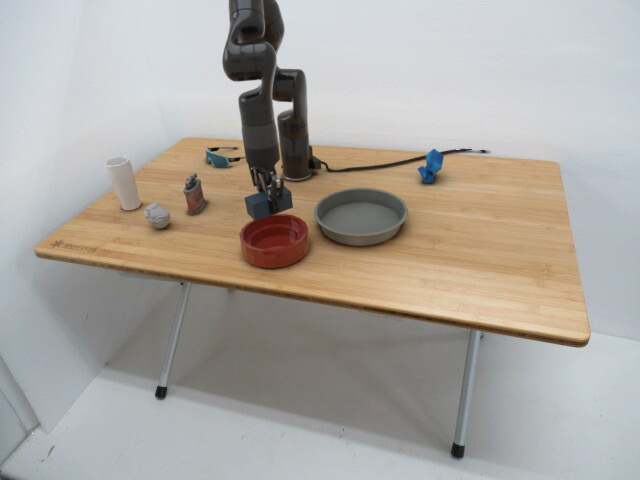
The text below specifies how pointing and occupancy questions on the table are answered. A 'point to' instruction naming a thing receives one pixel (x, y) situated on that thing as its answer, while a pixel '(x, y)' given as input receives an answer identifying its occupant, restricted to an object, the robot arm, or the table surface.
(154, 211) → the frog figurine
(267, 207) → the blue rectangular block
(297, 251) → the bowl
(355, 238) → the cake pan
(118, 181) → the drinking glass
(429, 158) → the crystal
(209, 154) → the sunglasses
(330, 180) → the table surface
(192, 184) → the lighter
